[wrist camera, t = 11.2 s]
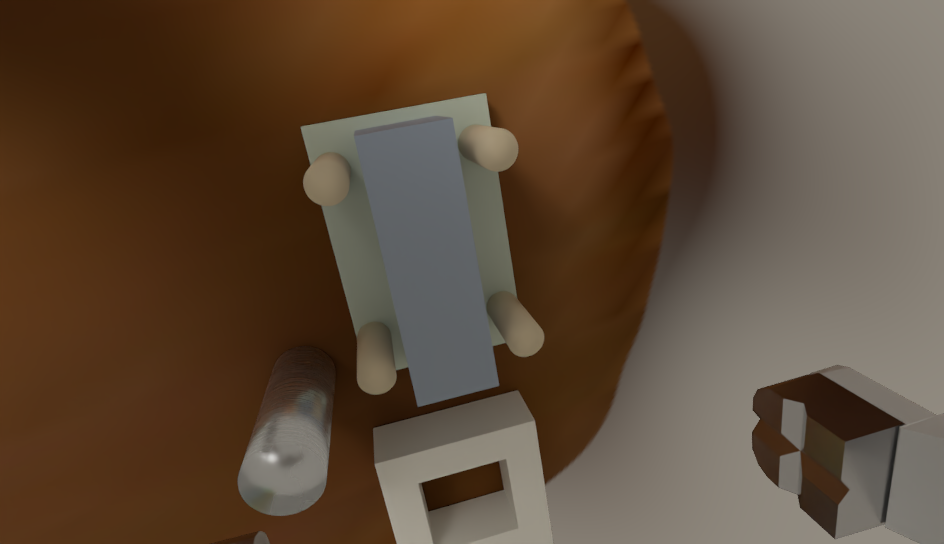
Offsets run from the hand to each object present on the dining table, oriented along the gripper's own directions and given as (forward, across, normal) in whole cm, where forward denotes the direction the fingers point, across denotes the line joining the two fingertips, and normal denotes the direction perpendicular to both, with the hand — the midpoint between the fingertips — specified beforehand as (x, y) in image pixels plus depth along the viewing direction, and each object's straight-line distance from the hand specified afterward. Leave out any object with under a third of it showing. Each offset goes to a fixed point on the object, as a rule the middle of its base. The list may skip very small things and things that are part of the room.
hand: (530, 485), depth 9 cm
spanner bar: (+17, 0, +1) cm, 17 cm away
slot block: (+18, 0, +14) cm, 23 cm away
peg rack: (+18, 0, +1) cm, 18 cm away
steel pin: (+18, +7, +6) cm, 20 cm away
